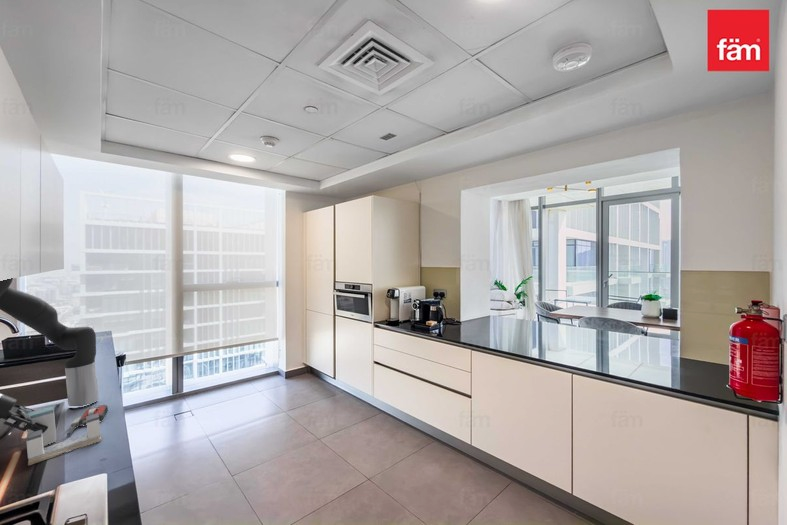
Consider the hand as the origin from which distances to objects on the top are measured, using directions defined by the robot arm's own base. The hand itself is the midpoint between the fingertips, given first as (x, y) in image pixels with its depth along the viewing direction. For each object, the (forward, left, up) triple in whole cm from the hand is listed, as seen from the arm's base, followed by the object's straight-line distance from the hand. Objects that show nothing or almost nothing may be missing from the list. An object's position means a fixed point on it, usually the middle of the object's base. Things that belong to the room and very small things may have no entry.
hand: (46, 426), depth 108 cm
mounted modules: (+8, +10, -4) cm, 13 cm away
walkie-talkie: (-12, +5, -6) cm, 14 cm away
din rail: (+8, +10, -5) cm, 13 cm away
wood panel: (+8, +10, -5) cm, 13 cm away
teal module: (+1, -1, -6) cm, 6 cm away
